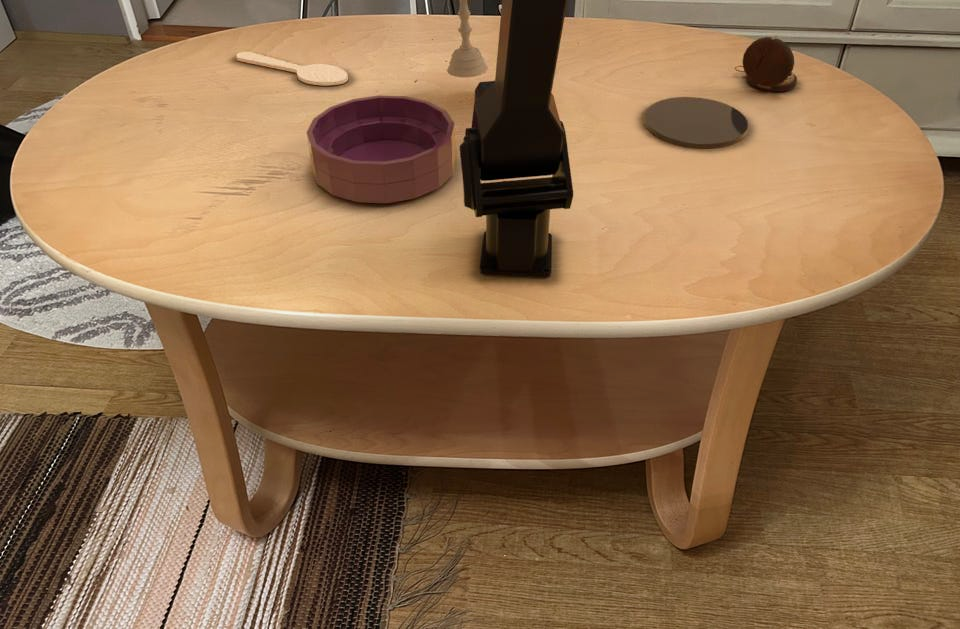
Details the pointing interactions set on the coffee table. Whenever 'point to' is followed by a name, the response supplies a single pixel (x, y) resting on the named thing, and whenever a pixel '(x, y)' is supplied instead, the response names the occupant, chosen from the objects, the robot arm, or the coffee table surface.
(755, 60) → the compass
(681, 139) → the slate coaster
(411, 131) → the plum bowl
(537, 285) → the coffee table surface
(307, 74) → the spoon
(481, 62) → the chalice
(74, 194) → the coffee table surface
